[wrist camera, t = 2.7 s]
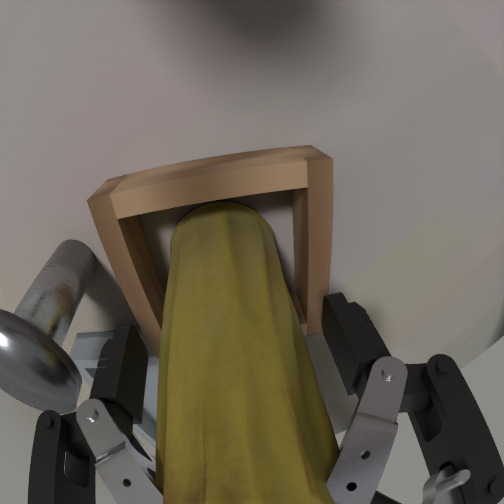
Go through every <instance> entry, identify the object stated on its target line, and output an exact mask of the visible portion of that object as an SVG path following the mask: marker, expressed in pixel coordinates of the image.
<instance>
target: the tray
mask: <svg viewBox="0 0 504 504" xmlns="http://www.w3.org/2000/svg"><path fill="white" fill-rule="evenodd" d="M137 331H138V333H139V335H140V337H141V339H142V340H143V342H144V344H145V346H146V348H147V351H148V358H149V360H148V368H147V377H146V385H145V395H144V405H143V417H142V424H133V429H134V430H135V431H136V432H137V433H138V434H140V435H141V436H142V437H143V438H144V439H145V440H147V441H148V442H149V443H150V444H151V445H153V446H154V447H155V448H156V424H157V392H158V371H159V358H156V356H155V354H154V352H153V351H152V349H151V347H150V345H149V343H148V341H147V340H146V338H145V336H144V334H143V332H142V330H141V328H138V329H137ZM113 335H114V331H105V332H92V333H77V336H76V338H75V341H74V344H73V347H72V349H71V352H70V355H69V356H70V358H71V359H72V360H73V362H74V363H75V364H76V366H77V368H78V370H79V372H80V374H81V376H82V378H83V379H84V380H85V381H86V382H87V383H88V384H89V386H90V387H91V388H92V385H93V380H94V376H95V372H96V368H97V364H98V360H99V356H100V353H101V349H102V347H103V346H104V344H105V343H106V341H107V340H108V339H113Z"/></svg>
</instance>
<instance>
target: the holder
mask: <svg viewBox="0 0 504 504" xmlns="http://www.w3.org/2000/svg"><path fill="white" fill-rule="evenodd" d="M289 189H292V209H293V234H294V267H295V292H293V293H289V294H290V296H291V299H292V302H293V305H294V307H295V310H296V313H297V316H298V319H299V322H300V325H301V328H302V331H303V335H304V336H309V335H314V334H318V333H323V331H322V325H321V318H322V306H323V297H324V296H325V295H328V289H329V276H330V261H331V242H332V215H333V159H332V158H331V157H329V156H328V155H326V154H324V153H323V152H321V151H319V150H318V149H316V148H314V147H313V146H311V145H309V146H297V147H286V148H276V149H267V150H258V151H250V152H243V153H236V154H229V155H222V156H216V157H210V158H204V159H198V160H193V161H187V162H182V163H177V164H172V165H167V166H162V167H158V168H153V169H149V170H144V171H140V172H136V173H132V174H128V175H124V176H120V177H116V178H112V179H108V180H107V181H106V182H105V183H104V184H103V185H102V186H101V187H100V188H99V189H98V190H97V191H96V192H95V193H94V194H93V195H92V196H91V197H90V198H89V199H88V200H87V202H88V205H89V208H90V211H91V214H92V217H93V220H94V223H95V226H96V228H97V231H98V234H99V236H100V239H101V242H102V244H103V247H104V249H105V252H106V254H107V257H108V259H109V262H110V264H111V267H112V269H113V271H114V274H115V276H116V278H117V280H118V283H119V285H120V287H121V289H122V292H123V294H124V296H125V298H126V300H127V302H128V304H129V306H130V308H131V310H132V313H133V315H134V317H135V319H136V321H137V322H138V324H139V326H140V328H141V330H142V332H143V334H144V336H145V338H146V340H147V341H148V343H149V345H150V347H151V349H152V351H153V352H154V354H155V356H156V358H159V352H160V341H161V332H162V324H163V310H164V302H165V293H164V290H163V287H162V285H161V282H160V279H159V276H158V273H157V271H156V268H155V265H154V262H153V259H152V256H151V253H150V250H149V247H148V244H147V241H146V238H145V234H144V231H143V228H142V225H141V221H140V218H139V214H144V213H149V212H154V211H159V210H164V209H169V208H174V207H180V206H185V205H191V204H196V203H202V202H208V201H214V200H220V199H226V198H233V197H239V196H246V195H252V194H259V193H267V192H274V191H282V190H289Z"/></svg>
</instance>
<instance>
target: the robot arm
mask: <svg viewBox="0 0 504 504" xmlns="http://www.w3.org/2000/svg"><path fill="white" fill-rule="evenodd" d="M321 325H322V331H323V334H324V336H325V339H326V341H327V344H328V346H329V349H330V351H331V353H332V356H333V358H334V361H335V363H336V366H337V368H338V371H339V373H340V376H341V378H342V381H343V383H344V386H345V388H346V391H347V393H348V396H349V395H352V394H355V393H356V394H357V396H358V399H359V401H358V403H357V406H356V408H355V411H354V414H353V416H352V419H351V421H350V424H349V426H348V429H347V431H346V434H345V436H344V438H343V440H342V443H341V445H340V446H339V450H340V454H339V456H338V458H337V461H336V463H335V465H334V467H333V469H332V471H331V473H330V476H329V478H328V480H327V483H326V486H327V488H328V490H329V492H330V494H331V497H332V498H333V500H334V502H335V504H401V503H399V502H397V501H395V500H393V499H391V498H389V497H387V496H386V495H384V494H382V493H380V492H378V491H376V489H377V486H378V484H379V481H380V479H381V476H382V474H383V471H384V469H385V466H386V463H387V460H388V457H389V455H390V451H391V449H392V445H393V442H394V439H395V436H396V433H397V429H398V423H397V422H396V421H397V416H398V413H402V412H407V413H408V415H409V418H410V420H411V423H412V426H413V428H414V431H415V434H416V436H417V439H418V442H419V445H420V448H421V450H422V453H423V456H424V459H425V462H426V465H427V468H428V471H429V474H430V477H429V479H428V480H427V481H426V482H425V484H424V487H423V502H422V504H497V503H498V502H499V501H501V499H502V498H503V497H504V466H503V463H502V460H501V458H500V455H499V452H498V450H497V447H496V445H495V442H494V440H493V437H492V435H491V433H490V430H489V428H488V426H487V424H486V422H485V419H484V417H483V415H482V413H481V411H480V409H479V407H478V404H477V402H476V400H475V398H474V396H473V394H472V392H471V390H470V389H469V387H468V385H467V383H466V381H465V379H464V377H463V376H462V374H461V372H460V370H459V368H458V366H457V365H456V363H455V361H454V360H453V359H452V358H451V357H449V356H447V355H444V354H437V355H434V356H432V357H431V358H430V359H429V361H428V362H427V363H424V364H404V363H403V362H402V361H401V360H400V359H398V358H395V357H392V356H391V354H390V353H389V351H388V349H387V347H386V345H385V344H384V342H383V340H382V338H381V337H380V335H379V333H378V331H377V330H376V328H375V327H374V325H373V323H372V321H371V320H370V318H369V316H368V314H367V313H366V311H365V309H364V308H363V307H361V306H360V305H359V304H357V303H356V302H351V303H348V302H347V300H346V298H345V296H344V295H343V293H341V292H340V293H335V294H330V295H325V296H324V297H323V306H322V318H321ZM148 360H149V358H148V351H147V348H146V346H145V344H144V342H143V340H142V339H141V337H140V335H139V333H138V331H137V329H136V328H135V326H134V325H126V326H117V327H116V328H115V331H114V335H113V339H108V340H107V341H106V343H105V344H104V346H103V347H102V349H101V353H100V356H99V360H98V364H97V368H96V372H95V376H94V380H93V385H92V389H91V393H90V397H89V399H88V400H86V401H84V402H83V403H81V404H80V406H79V407H78V409H77V411H76V412H73V413H69V414H65V415H60V414H58V413H57V412H56V411H54V410H46V411H44V412H43V413H42V414H41V415H40V416H39V418H38V420H37V425H36V431H35V436H34V442H33V448H32V456H31V464H30V474H29V487H28V504H96V502H95V470H97V471H98V473H99V475H100V477H101V478H102V480H103V481H104V483H105V485H106V486H107V488H108V489H109V491H110V492H111V494H112V496H113V497H114V498H115V500H116V501H117V503H118V504H163V490H162V489H161V488H160V486H159V485H158V484H157V483H156V462H155V460H154V459H153V458H152V457H151V456H150V454H149V453H148V451H147V450H146V449H145V447H144V446H143V445H142V443H141V442H140V441H139V439H138V438H137V436H136V435H135V433H134V432H133V424H142V417H143V405H144V395H145V385H146V377H147V368H148ZM65 452H66V461H65ZM96 460H97V461H96ZM64 464H65V474H64Z"/></svg>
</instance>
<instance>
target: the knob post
mask: <svg viewBox="0 0 504 504" xmlns="http://www.w3.org/2000/svg"><path fill="white" fill-rule="evenodd" d="M95 270H96V259H95V257H94V255H93V253H92V251H91V250H90V249H89V248H88V247H87V246H86V245H85V244H83V243H82V242H80V241H77V240H66V241H64V242H62V243H61V244H60V245H59V246H58V248H57V249H56V250H55V252H54V253H53V254H52V256H51V257H50V258H49V260H48V261H47V263H46V264H45V265H44V267H43V268H42V270H41V271H40V273H39V274H38V276H37V277H36V278H35V280H34V281H33V283H32V284H31V286H30V288H29V289H28V291H27V292H26V294H25V295H24V297H23V299H22V300H21V302H20V304H19V305H18V307H17V309H16V310H15V312H14V314H13V313H10V312H8V311H5V310H2V309H0V388H1V389H2V390H4V391H5V392H6V393H8V394H9V395H11V396H12V397H14V398H16V399H17V400H19V401H21V402H23V403H25V404H27V405H29V406H31V407H34V408H36V409H39V410H42V411H46V410H54V411H56V412H57V413H58V414H65V413H70V412H72V411H74V410H75V408H76V405H77V401H78V397H79V393H80V388H81V384H82V378H81V374H80V372H79V370H78V368H77V366H76V364H75V363H74V362H73V360H72V359H71V358H70V356H69V355H68V354H67V353H66V352H65V351H64V350H63V349H62V348H61V347H62V345H63V342H64V339H65V337H66V334H67V332H68V329H69V327H70V325H71V322H72V320H73V317H74V315H75V313H76V310H77V308H78V306H79V304H80V302H81V299H82V297H83V295H84V293H85V291H86V289H87V287H88V284H89V282H90V280H91V278H92V276H93V274H94V272H95Z"/></svg>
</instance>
